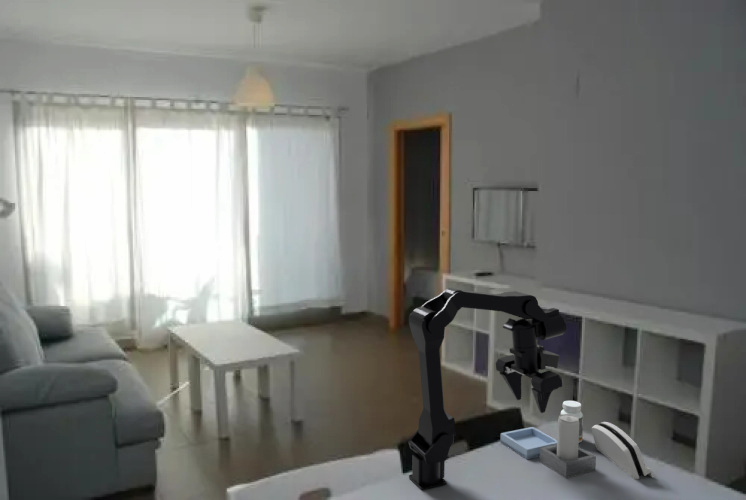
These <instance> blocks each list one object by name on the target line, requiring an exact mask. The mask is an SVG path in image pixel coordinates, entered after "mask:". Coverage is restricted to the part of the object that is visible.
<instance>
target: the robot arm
mask: <svg viewBox="0 0 746 500" xmlns="http://www.w3.org/2000/svg"><path fill="white" fill-rule="evenodd" d="M462 308H466V309H474V310H475V309H476V310H484V311H492V312H493V311H494V312H501V313H506V314H509V315H512V316H515V317H518V318H519V319H514V318H511V317H510V318H508V320H507V321H506V322H505V323H504V324H503V325H502V329H504V330H505V329H506V330H507V331H511V338H512V340H511V341H512V347H511V348H509V353H511V354H510V355H507V356H504V357H501V358H498V359H497V360H496V362H495V370H496V371H498V372H499V375H501V377H502V379H503V380H504V381H505V384H507V386H508V388H509V389H510V391H511V393H512V394H513V396H514V397H515V400H517V401H520V400H521V399H522V376H525V377H528V378H530V384H531V385H532V387H531V388H530V389H531V392H532V394H533V397H534V400H535V402H536V405H537V409H538V410H539V413H540V414H543V413H545V412H546V410H547V406H548V403H549V400H550V396H551V395H552V392H553V391H556V390H558V389H559V388H562V387H564V382H563V381H564V380H563V377H562V376H561V375H560V374H558V373H556V372H553V371H552V370H546V367H547V368H548V367H549V368H550V367H551V368H553V369H558V368H559V362H560V358H561V355H559V354H557V353H556V352H555V353H554V352H552V351H548V350H546V349H545V347H544V345H540V344H538V340H540V341H545V340H549V339H552V338H555V337H559V336H563V335H564V334H565V333H566V331H567V322H565V319H564V317H563V316H562V315H561V314H560V309H558V308H555V307H550V308H549V309H546V310H543V309H542V307H541V306H540V305H539V302H538V299H537V297H536V296H534V295H531V294H528V293H524V292H521V291H505V292H504V291H503V292H502V293H491V292H490V293H489V292H481V291H474V290H463V289H457V288H453V287H448V288H446V289H445V290H444V291H442V292H441V293H440V294H439V295H437V296H435V297H433V298H431V299H429V300H428V301H426V302H425V303H424V304H422V305H420V306H418V307H415V309H413V310H412V312H411V313H410V314H409V316H408V325H409V328H410V331H411V336H412V338H413V340H414V343H415V345H416V347H417V350H418V360H419V370H420V371H419V372H420V373H419V374H420V383H421V384H420V385H421V386H420V387H421V396H422V397H421V398H422V406H423V407H422V412H421V414H420V416H419V418H418V426H417V427H418V429H417V430H416V431H415V433H414V434H413V435H412V436H411V438H410V439H408V441H407V442H408V445H409V448H410V450H412V451H413V452H415V453H413V454H412V456H411V457H412V467H411V474H408V478H409V480H410V481H412V482H413V483H414V484H415V485H416V487H417V486H418V488H419V489H420V490H421V491H422V490H423V491H424V490H428V489H432V488H437V487H440V486H445V485H447V480H446V479H445V464H446V463H445V462H446V461H447V458H448V455H449V451H450V449H451V447H452V445H454V441H455V437H456V436H457V433H456V430H455V425H456V420H455V418H454V417H453V416H452V415H450V414H449V413H447V412H446V410H445V402H444V401H445V400H444V389H443V388H444V387H443V377H442V375H443V374H442V363H441V350H440V349H441V347H442V344H443V342H444V339H445V333H446V327H447V326H449V324H451V323H452V322H453V320H454V319H455V317H456V315H457V314H458V312H459V311H460V310H461V309H462ZM540 370H541V371H542V370H546V371H543V372H539V371H540Z"/></svg>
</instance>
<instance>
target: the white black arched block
mask: <svg viewBox="0 0 746 500" xmlns="http://www.w3.org/2000/svg"><path fill="white" fill-rule="evenodd" d="M591 432H592V437H593V441H594V444H595V445H594V446H595V448H596V450H598V451H599V452H600V453H601V454H602V455H604V456H605V457H606V458H607V459H609V460H610V461H611V462H613V464H615V465H616V466H617V467H618V468H619V469H621V470H622V471H624V472H625V473H626V474H627V475H628V476H630V477H631V478H632V479H633V480H639V479H640V476H644V477H646V476H647V475H648V476H649V477H651V478H654V476H655V475H654V473H653V470H652V469H651V468H650V467H648V466H646V463H645V461H644V458H643V455H642V452H641V449H640V448H639V446H638V444H637V443H636V442H635V441H634V440H633V439H632V438H631V437H630V436H629V434H627V433H626V432H625V431H624V430H623V429H621V428H619V426H617V425H615V424H613V423H611V422H607V421H602V422H599V424H595V425H592V427H591Z"/></svg>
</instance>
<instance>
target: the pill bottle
mask: <svg viewBox="0 0 746 500" xmlns="http://www.w3.org/2000/svg"><path fill="white" fill-rule="evenodd" d="M562 408H563V409H561V411H560V415H563V414H569V415H574V416H576V417H578V418H579V443H581V442H582V441H583V434H584V433H583V431H584V428H583V426H584V425H583V424H584V414H583V412H582V411H581V410H582V403H580V402H579V401H576V400H564V401H563V402H562Z"/></svg>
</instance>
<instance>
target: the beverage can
mask: <svg viewBox="0 0 746 500" xmlns="http://www.w3.org/2000/svg"><path fill="white" fill-rule="evenodd" d="M556 440H557V456H559V457H561V458H562V459H564V460H566V461H569V460H573V459H577V458H578V447H579V443H580V442H579V418H578V417H576V416H574V415H569V414H563V415H561V414H560V415H559V416H558V420H557V439H556Z"/></svg>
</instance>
